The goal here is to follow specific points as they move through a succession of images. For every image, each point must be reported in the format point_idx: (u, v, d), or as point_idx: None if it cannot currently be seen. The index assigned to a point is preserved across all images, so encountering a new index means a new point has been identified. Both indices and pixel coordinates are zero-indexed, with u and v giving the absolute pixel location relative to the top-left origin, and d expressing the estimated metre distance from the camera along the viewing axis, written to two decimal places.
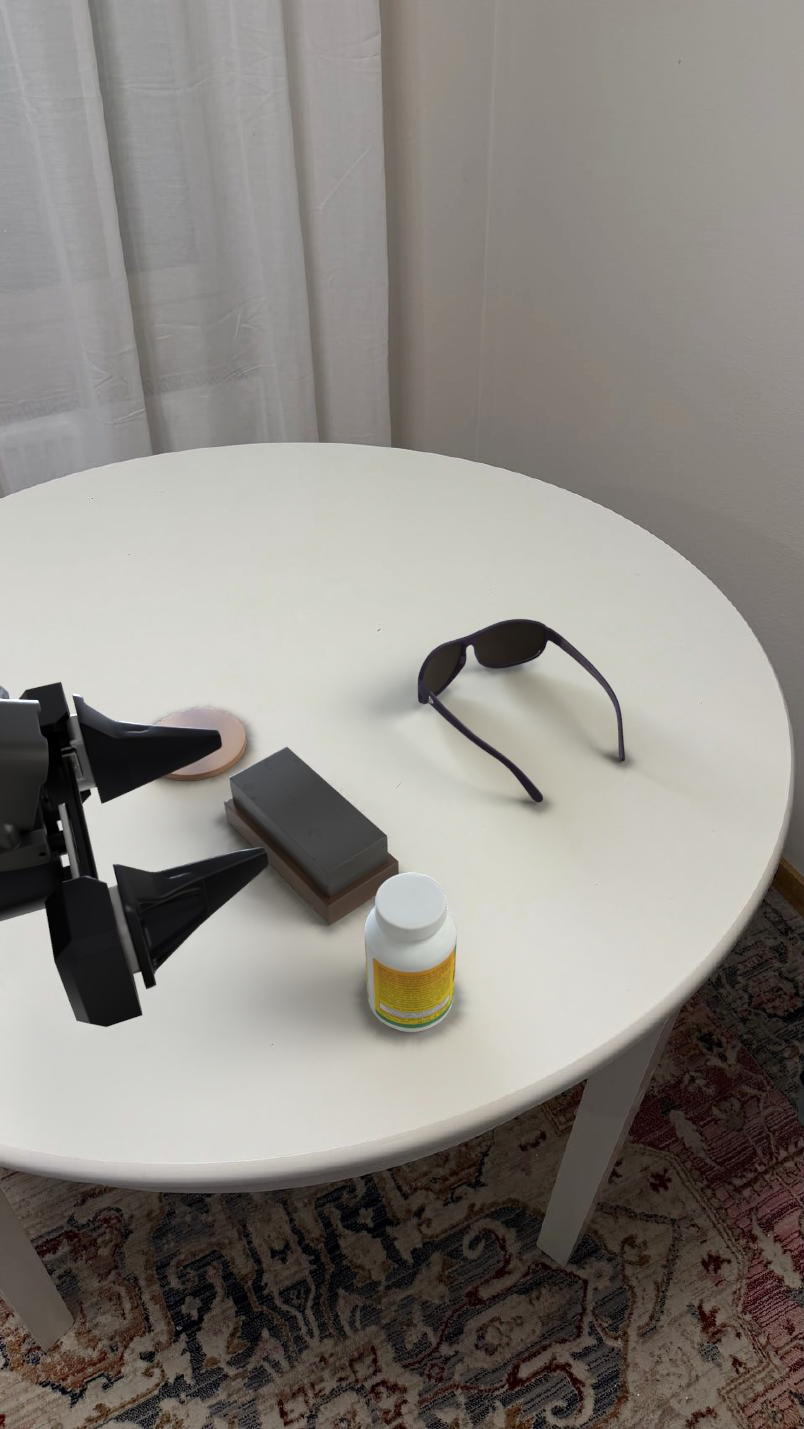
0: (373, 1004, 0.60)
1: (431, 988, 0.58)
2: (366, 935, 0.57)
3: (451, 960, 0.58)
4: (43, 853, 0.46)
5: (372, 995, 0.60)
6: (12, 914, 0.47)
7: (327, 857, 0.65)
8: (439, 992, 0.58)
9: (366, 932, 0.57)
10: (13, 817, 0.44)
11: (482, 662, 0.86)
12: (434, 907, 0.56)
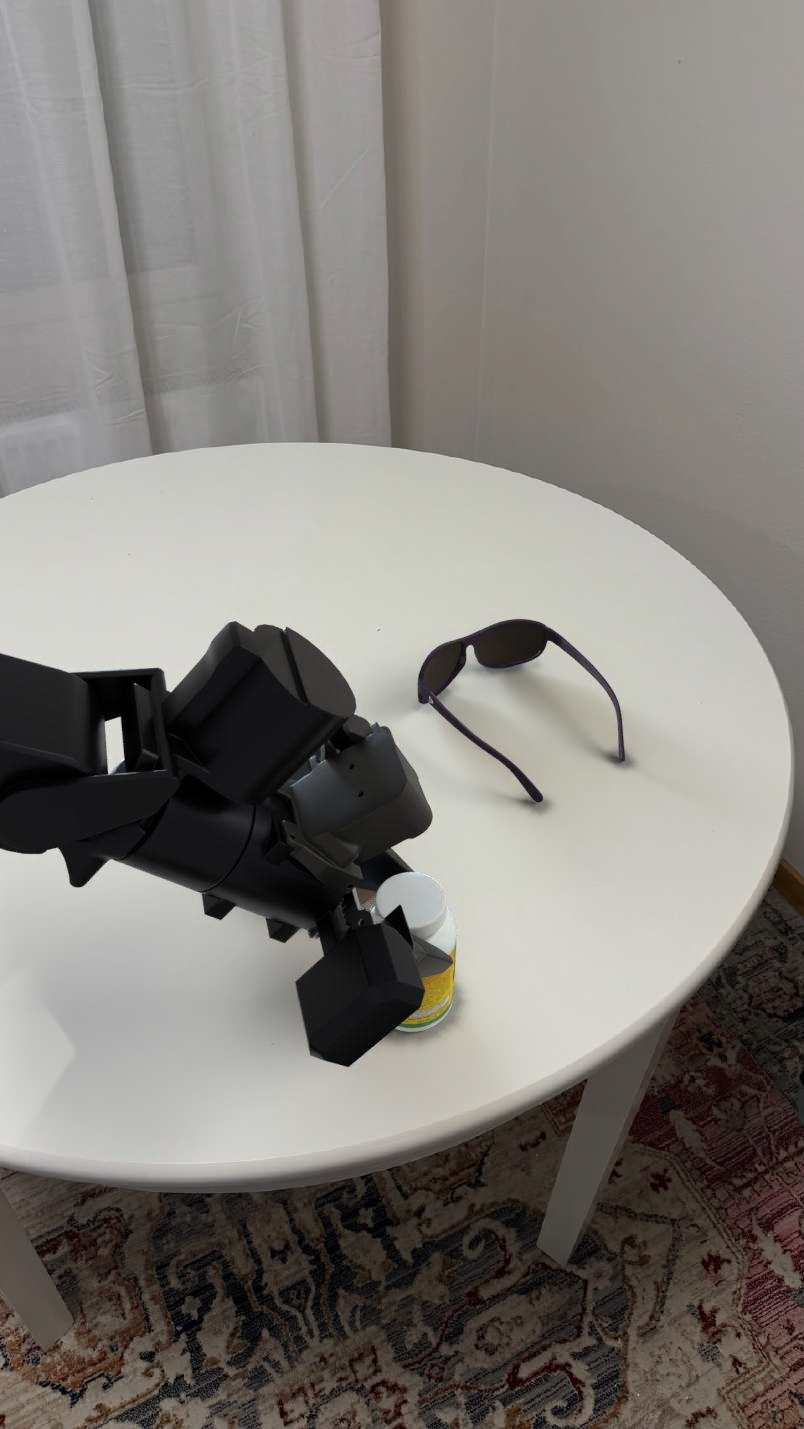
0: None
1: (431, 988, 0.58)
2: None
3: None
4: (347, 885, 0.50)
5: None
6: (269, 912, 0.50)
7: None
8: (439, 992, 0.58)
9: None
10: (367, 846, 0.49)
11: (482, 662, 0.86)
12: (434, 907, 0.56)
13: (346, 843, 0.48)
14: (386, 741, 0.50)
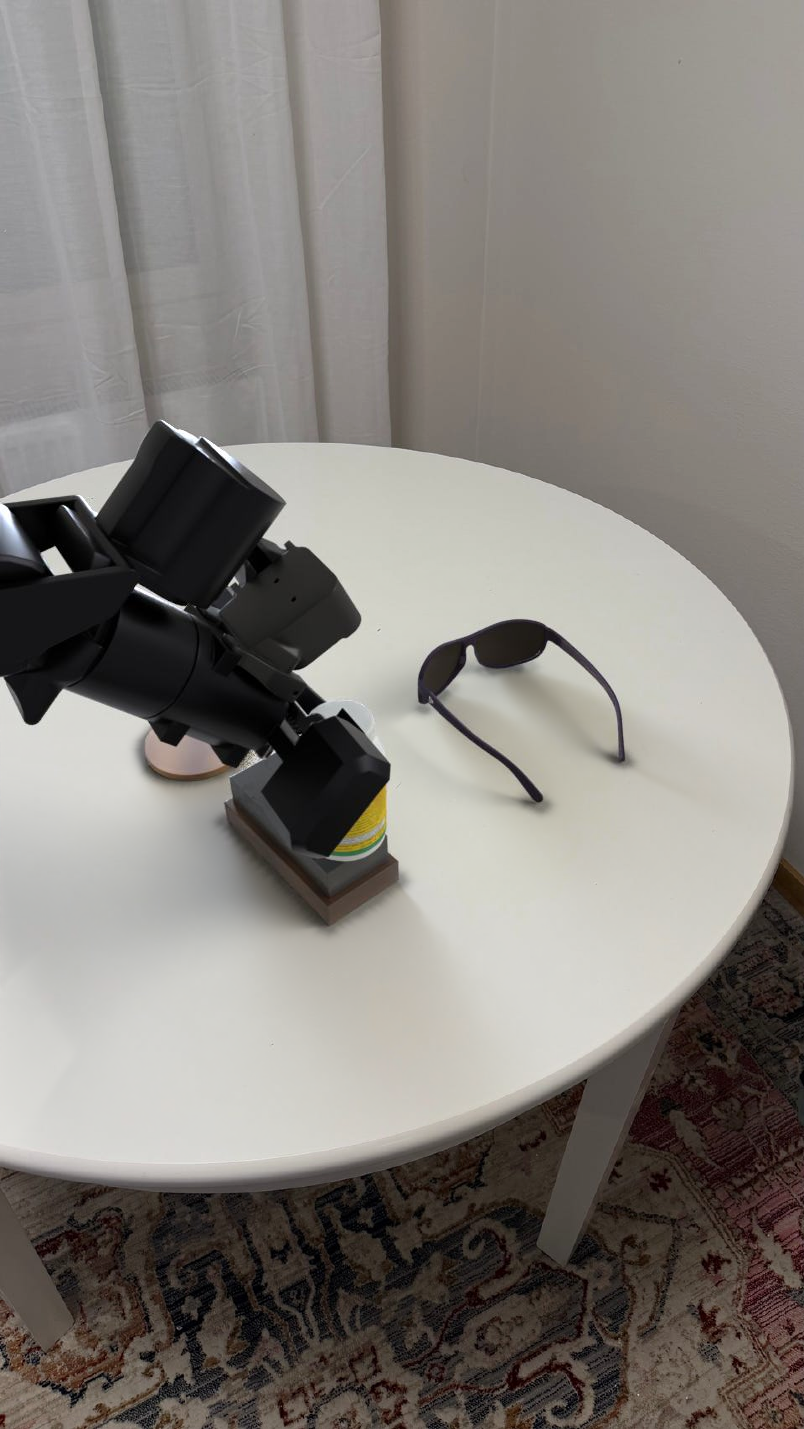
0: None
1: (371, 806, 0.60)
2: None
3: None
4: (292, 693, 0.52)
5: None
6: (222, 732, 0.51)
7: None
8: (378, 811, 0.61)
9: None
10: (307, 650, 0.51)
11: (482, 662, 0.86)
12: (364, 723, 0.58)
13: (288, 647, 0.50)
14: (304, 552, 0.52)
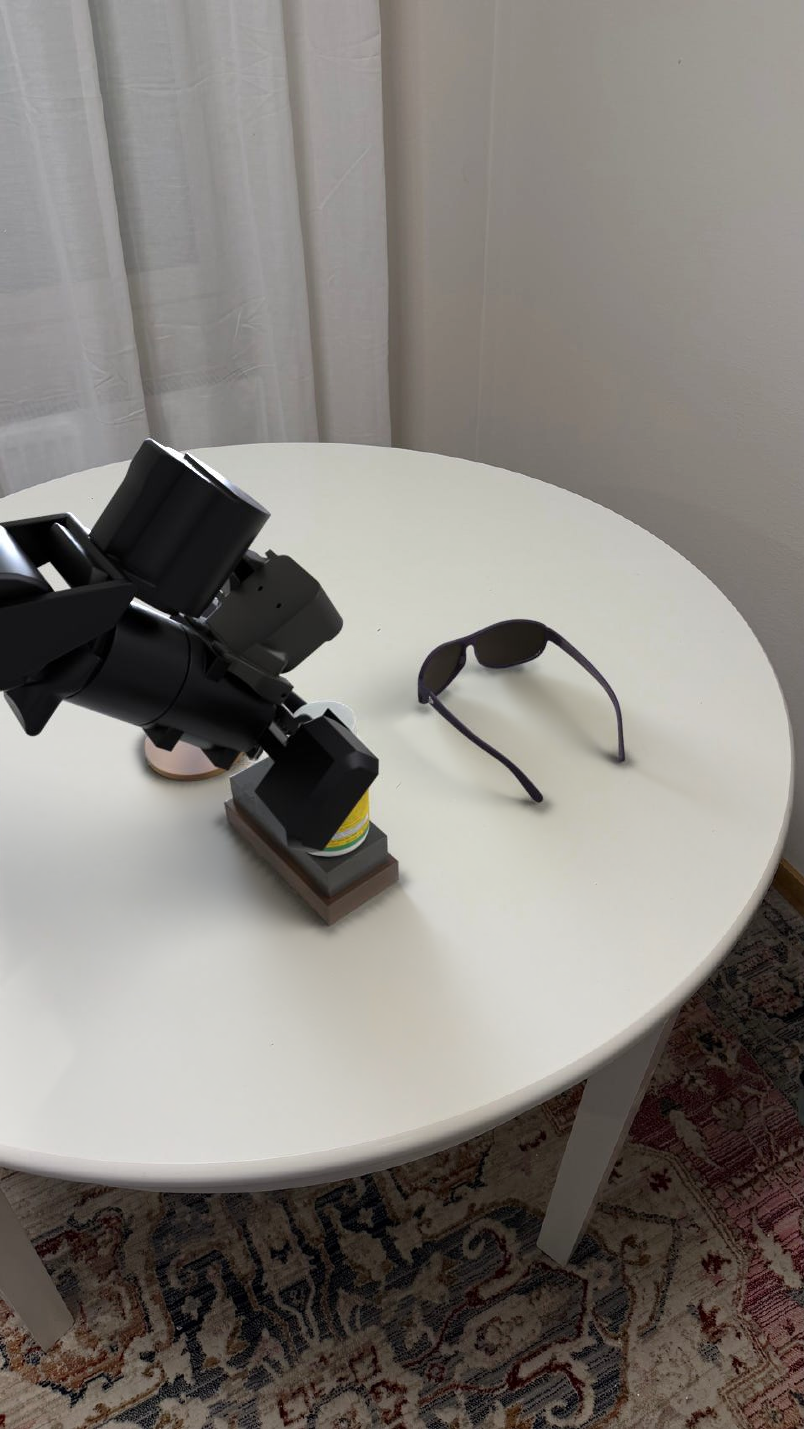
0: None
1: None
2: None
3: None
4: None
5: None
6: (214, 736, 0.53)
7: (327, 857, 0.65)
8: (361, 806, 0.63)
9: None
10: (293, 653, 0.53)
11: (482, 662, 0.86)
12: (347, 722, 0.61)
13: (275, 651, 0.52)
14: (286, 560, 0.54)
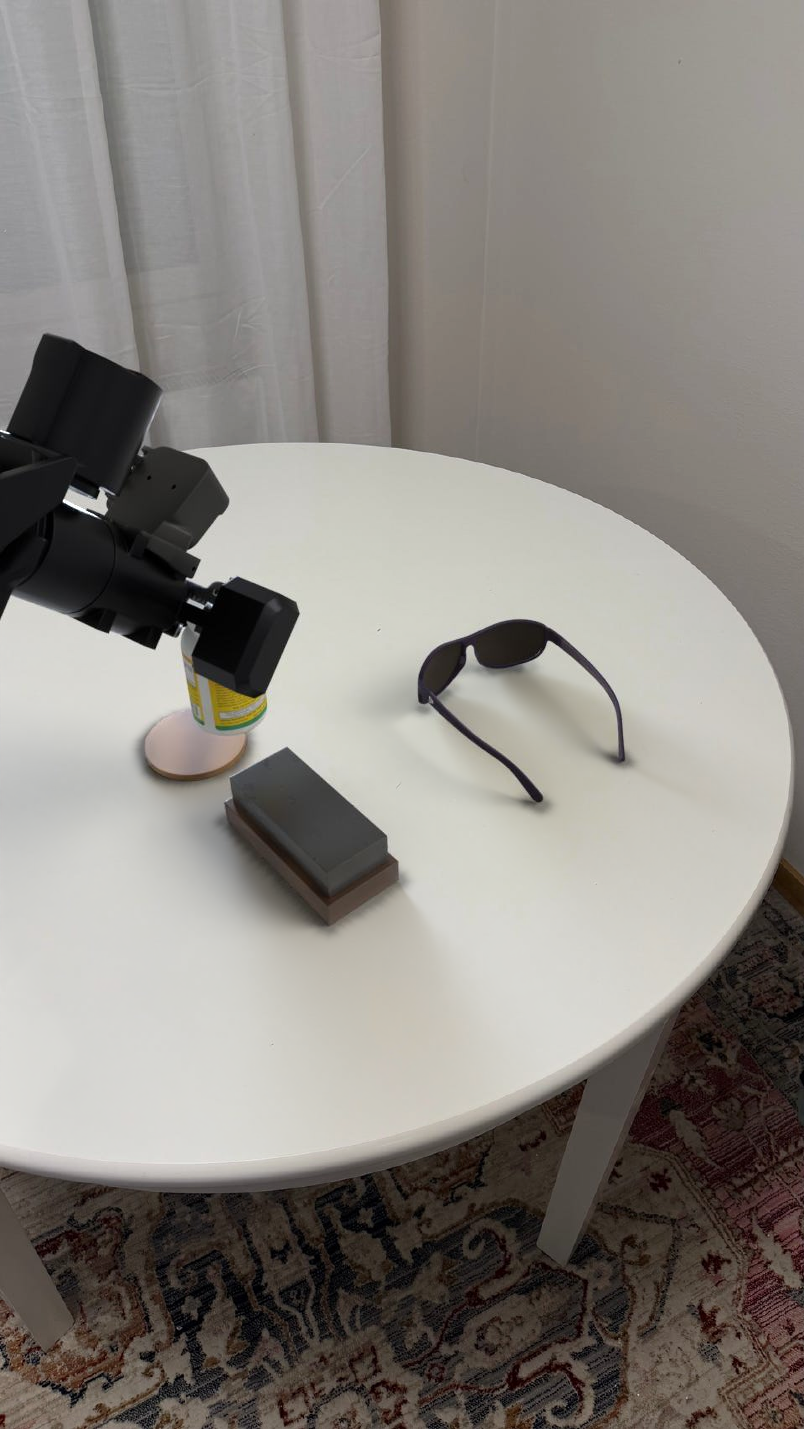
0: (212, 722, 0.70)
1: None
2: (191, 653, 0.67)
3: None
4: None
5: (209, 713, 0.69)
6: (142, 614, 0.57)
7: (327, 857, 0.65)
8: None
9: (190, 651, 0.67)
10: (195, 528, 0.59)
11: (482, 662, 0.86)
12: None
13: (182, 527, 0.58)
14: (165, 450, 0.60)
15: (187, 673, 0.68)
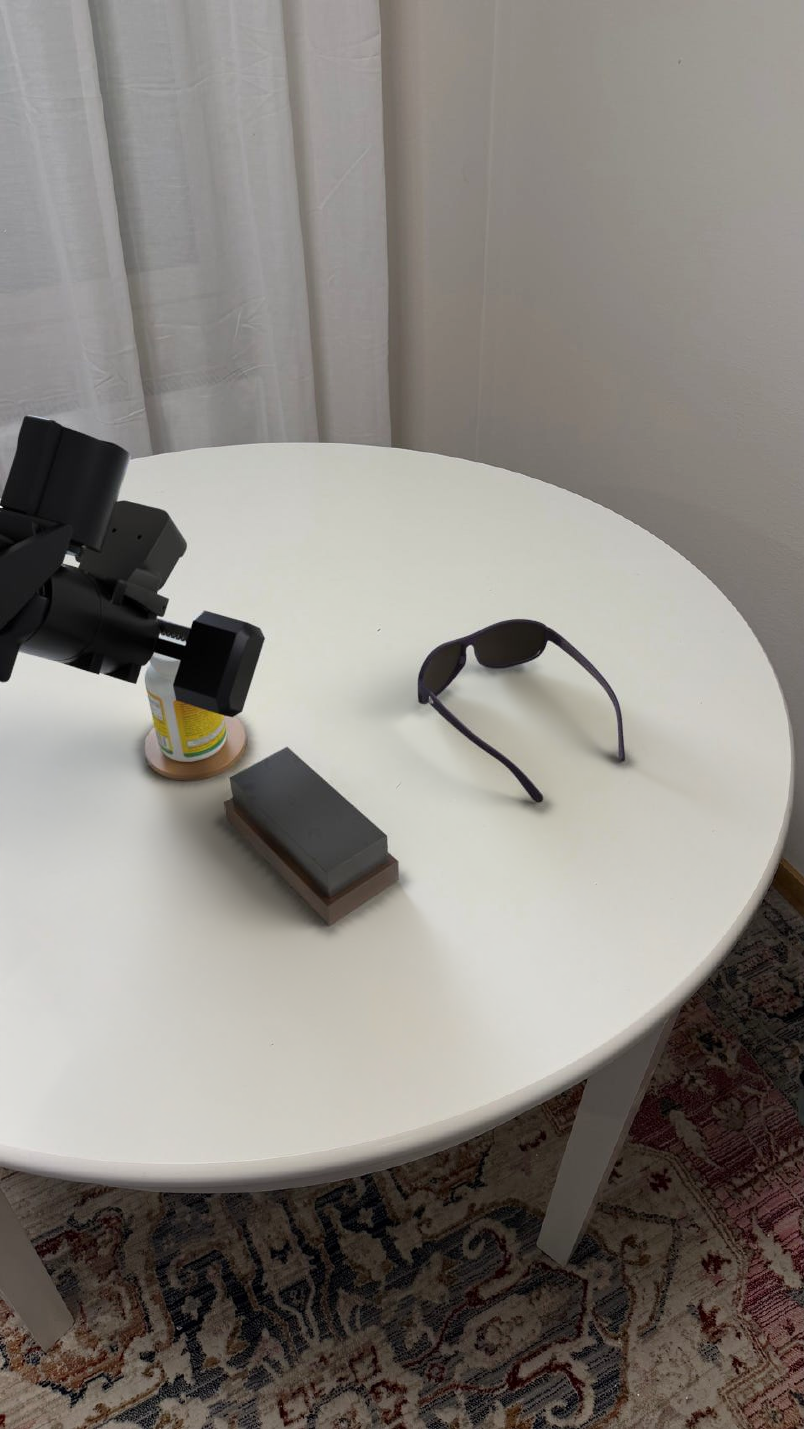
0: (180, 751, 0.77)
1: None
2: (158, 691, 0.73)
3: None
4: None
5: (178, 743, 0.76)
6: (125, 653, 0.64)
7: (327, 857, 0.65)
8: None
9: (156, 690, 0.73)
10: (162, 571, 0.65)
11: (482, 662, 0.86)
12: None
13: (151, 572, 0.64)
14: (124, 503, 0.66)
15: (154, 709, 0.75)
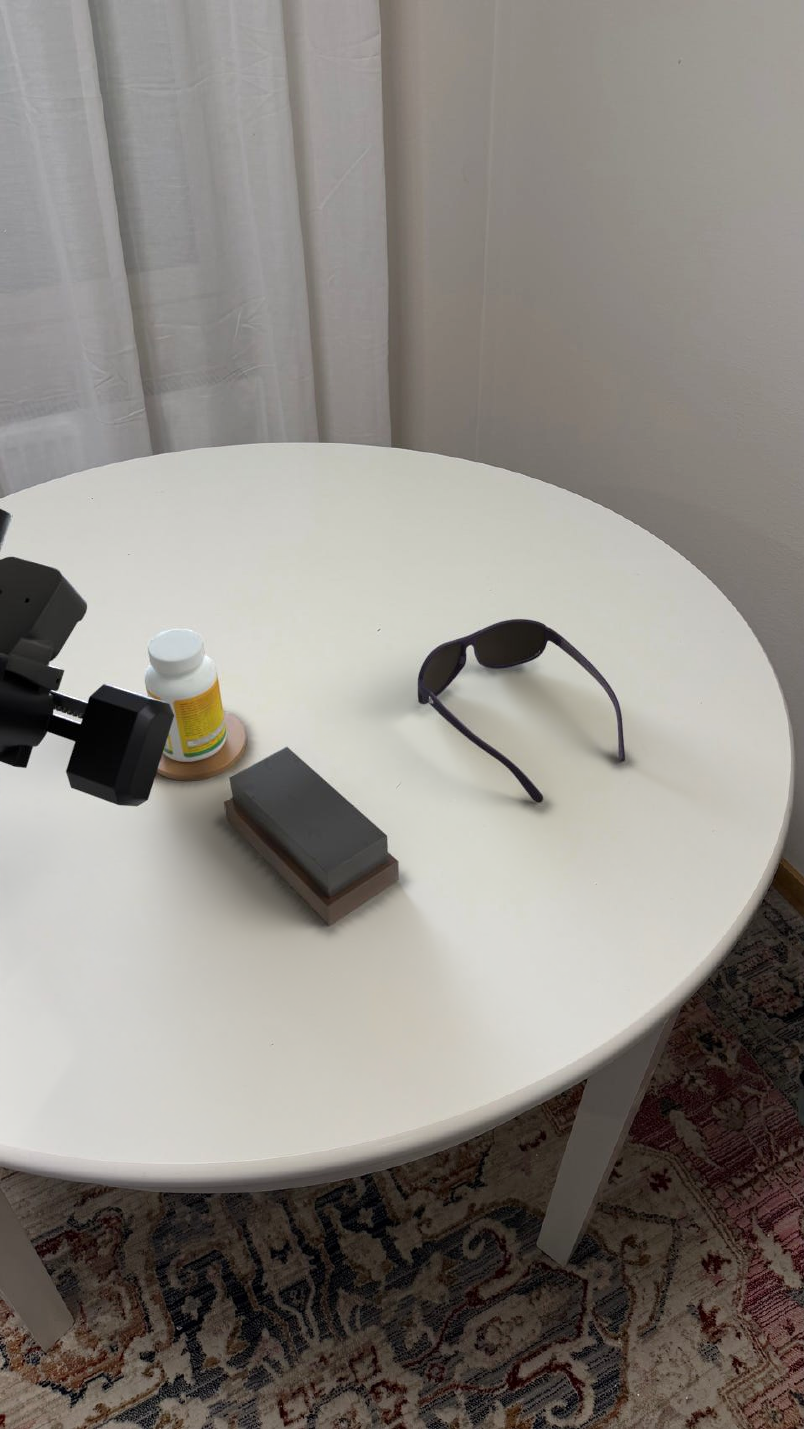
0: (180, 751, 0.77)
1: (217, 703, 0.76)
2: (158, 691, 0.73)
3: None
4: None
5: (178, 743, 0.76)
6: (9, 735, 0.55)
7: (327, 857, 0.65)
8: (221, 707, 0.77)
9: (156, 690, 0.73)
10: (55, 639, 0.57)
11: (482, 662, 0.86)
12: (194, 639, 0.74)
13: (40, 641, 0.56)
14: (12, 560, 0.57)
15: None
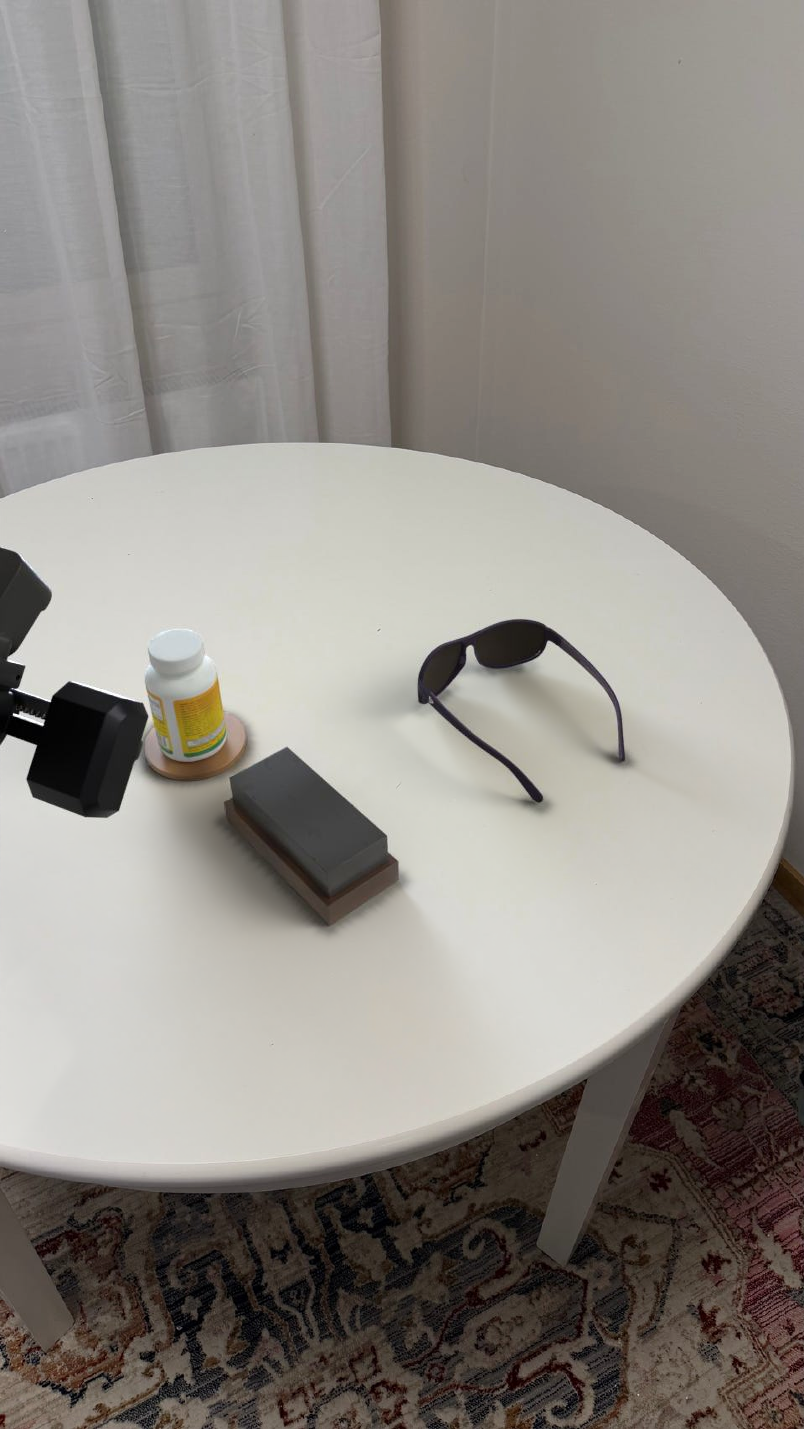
0: (180, 751, 0.77)
1: (217, 703, 0.76)
2: (158, 691, 0.73)
3: None
4: None
5: (178, 743, 0.76)
6: None
7: (327, 857, 0.65)
8: (221, 707, 0.77)
9: (156, 690, 0.73)
10: (14, 631, 0.51)
11: (482, 662, 0.86)
12: (194, 639, 0.74)
13: None
14: None
15: (154, 709, 0.75)
